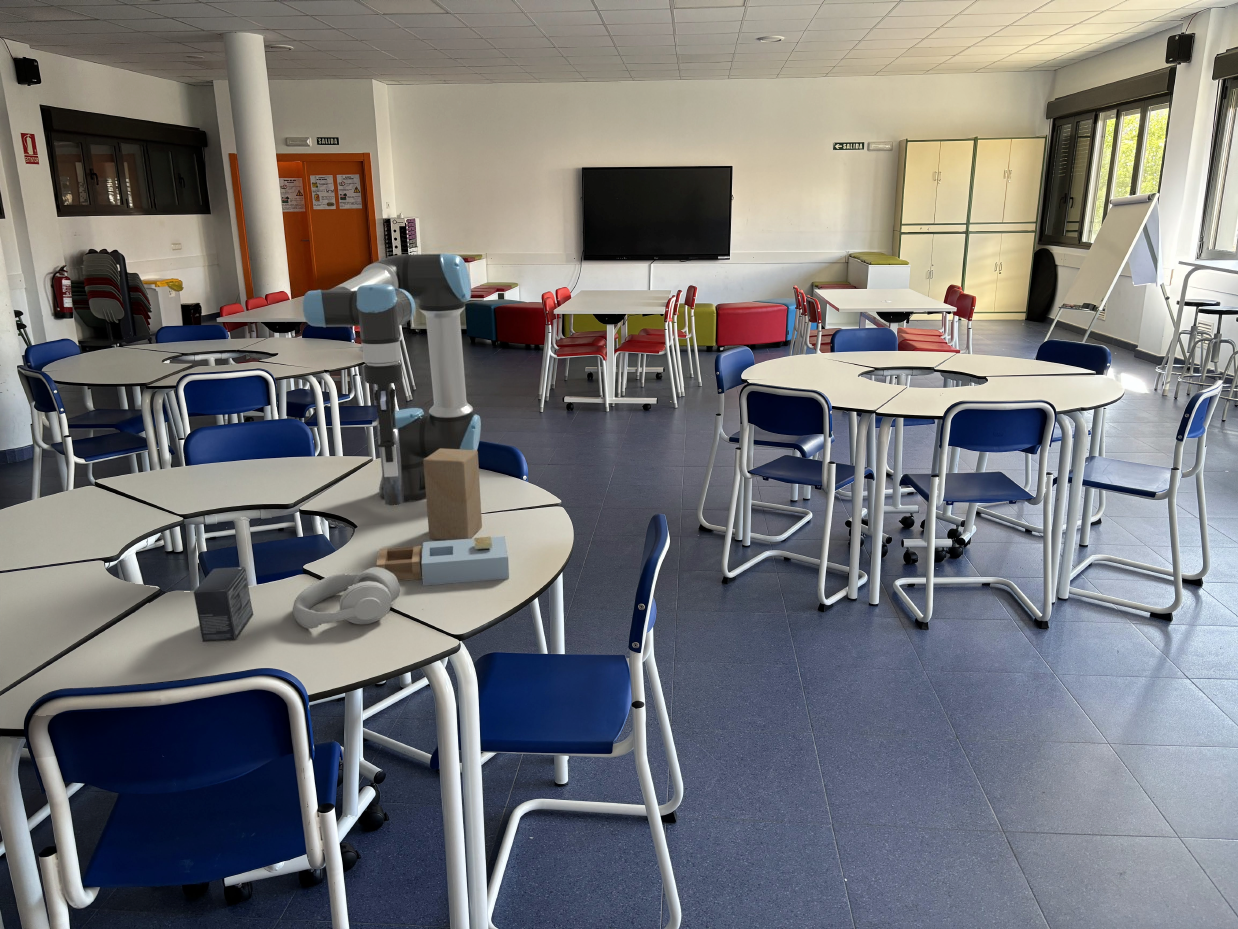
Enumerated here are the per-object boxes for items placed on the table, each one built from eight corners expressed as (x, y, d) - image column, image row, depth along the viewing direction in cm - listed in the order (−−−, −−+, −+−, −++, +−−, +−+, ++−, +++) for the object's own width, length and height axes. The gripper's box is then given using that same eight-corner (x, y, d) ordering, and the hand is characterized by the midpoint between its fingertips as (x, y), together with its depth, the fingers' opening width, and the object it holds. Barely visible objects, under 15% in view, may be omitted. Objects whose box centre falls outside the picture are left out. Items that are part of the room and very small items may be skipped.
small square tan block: (475, 561, 191) (474, 537, 189) (492, 560, 192) (490, 536, 190) (476, 568, 188) (474, 544, 186) (492, 567, 188) (491, 542, 187)
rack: (381, 565, 192) (379, 548, 191) (422, 562, 194) (421, 545, 193) (378, 582, 184) (376, 565, 183) (421, 578, 185) (419, 561, 184)
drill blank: (385, 499, 186) (378, 427, 181) (404, 498, 186) (398, 426, 182) (384, 506, 182) (377, 432, 177) (403, 504, 182) (397, 431, 178)
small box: (220, 616, 169) (212, 567, 166) (254, 614, 170) (247, 565, 167) (199, 642, 159) (191, 590, 156) (236, 641, 160) (228, 589, 157)
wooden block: (468, 542, 205) (463, 461, 199) (428, 539, 207) (422, 459, 201) (482, 527, 214) (478, 449, 208) (444, 524, 216) (439, 447, 210)
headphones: (412, 589, 179) (320, 600, 181) (404, 555, 177) (310, 566, 179) (385, 632, 161) (283, 644, 163) (376, 594, 159) (272, 606, 161)
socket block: (424, 563, 193) (423, 542, 192) (505, 556, 197) (504, 536, 195) (423, 585, 182) (421, 563, 181) (509, 578, 185) (508, 556, 184)
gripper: (366, 356, 183) (376, 462, 189) (358, 371, 167) (370, 486, 173) (403, 354, 184) (411, 460, 191) (398, 369, 168) (408, 484, 175)
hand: (391, 472), depth 182 cm, fingers closed on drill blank, 4 cm apart
